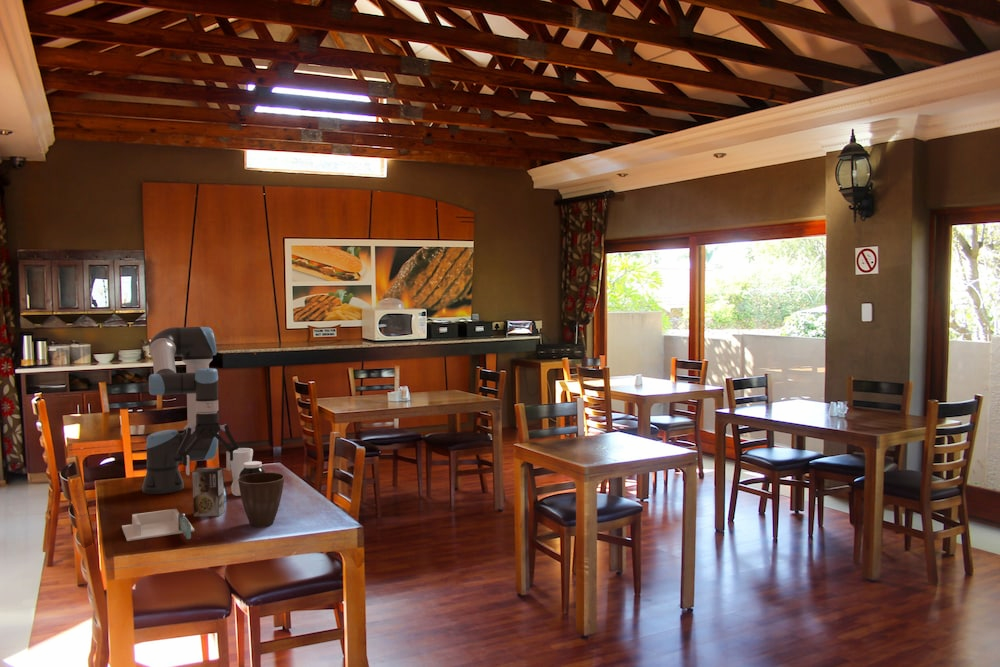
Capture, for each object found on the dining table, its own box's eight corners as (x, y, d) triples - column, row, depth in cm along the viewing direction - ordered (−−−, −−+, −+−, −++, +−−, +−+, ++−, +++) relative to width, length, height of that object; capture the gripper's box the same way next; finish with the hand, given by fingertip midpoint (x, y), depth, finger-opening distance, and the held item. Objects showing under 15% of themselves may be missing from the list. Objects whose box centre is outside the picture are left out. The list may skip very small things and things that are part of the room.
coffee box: (224, 511, 276) (224, 466, 275) (219, 516, 269) (218, 470, 269) (199, 511, 275) (198, 467, 275) (192, 516, 269) (191, 471, 268)
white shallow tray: (121, 527, 256) (121, 515, 256) (185, 518, 267) (185, 506, 266) (127, 541, 242) (126, 528, 242) (194, 531, 252) (194, 518, 252)
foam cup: (234, 485, 314) (234, 453, 314) (225, 481, 321) (225, 450, 320) (257, 481, 321) (256, 450, 320) (247, 477, 327) (247, 447, 327)
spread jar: (268, 489, 306) (268, 461, 306) (259, 497, 295) (259, 467, 295) (239, 489, 307) (238, 460, 306) (228, 497, 295) (227, 467, 295)
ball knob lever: (178, 528, 252) (177, 513, 251) (184, 527, 253) (184, 512, 252) (185, 540, 239) (185, 525, 239) (192, 539, 240) (192, 524, 240)
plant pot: (292, 524, 260) (292, 477, 259) (251, 533, 250) (250, 485, 249) (272, 515, 271) (271, 470, 270) (231, 523, 261) (230, 477, 260)
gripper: (170, 416, 261) (172, 478, 262) (246, 410, 274) (247, 470, 275) (167, 413, 267) (168, 474, 268) (241, 408, 280) (242, 466, 281)
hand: (208, 472), depth 271 cm, fingers open, 13 cm apart
